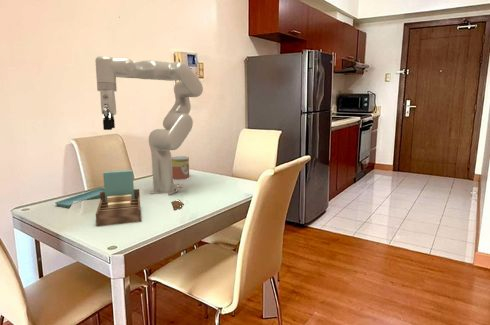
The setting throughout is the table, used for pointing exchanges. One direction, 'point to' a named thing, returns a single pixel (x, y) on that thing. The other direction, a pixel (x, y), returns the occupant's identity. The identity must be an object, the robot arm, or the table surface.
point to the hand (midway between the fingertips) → (109, 128)
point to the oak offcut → (119, 198)
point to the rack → (118, 212)
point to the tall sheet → (118, 183)
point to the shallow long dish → (80, 198)
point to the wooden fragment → (176, 204)
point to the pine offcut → (119, 204)
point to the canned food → (180, 167)
